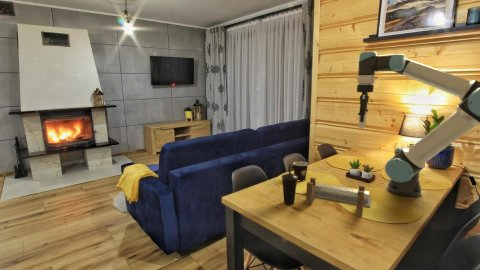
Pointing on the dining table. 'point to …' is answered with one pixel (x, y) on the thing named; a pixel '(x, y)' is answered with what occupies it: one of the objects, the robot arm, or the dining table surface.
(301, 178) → the coffee mug
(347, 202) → the grey flat panel
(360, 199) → the walnut cradles
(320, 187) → the alu bar
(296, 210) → the dining table surface
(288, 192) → the drinking cup
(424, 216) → the dining table surface
